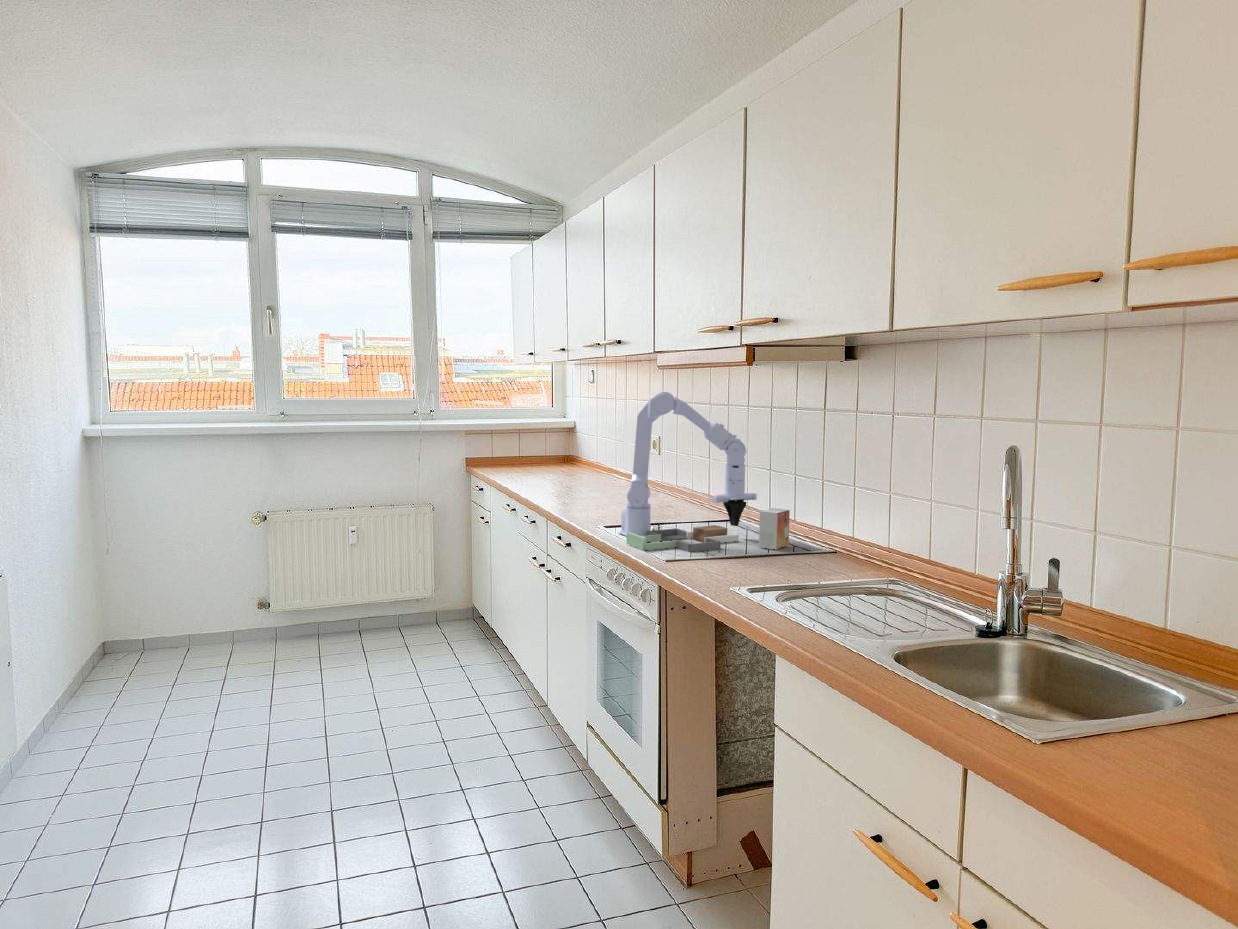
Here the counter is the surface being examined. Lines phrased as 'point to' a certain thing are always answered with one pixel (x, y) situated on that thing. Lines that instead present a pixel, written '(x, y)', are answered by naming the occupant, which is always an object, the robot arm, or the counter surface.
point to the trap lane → (676, 540)
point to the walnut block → (708, 532)
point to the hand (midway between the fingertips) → (734, 525)
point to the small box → (774, 528)
